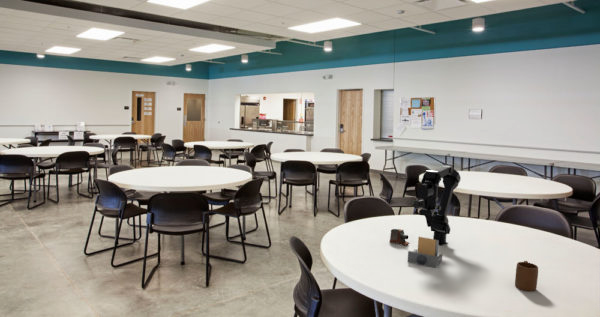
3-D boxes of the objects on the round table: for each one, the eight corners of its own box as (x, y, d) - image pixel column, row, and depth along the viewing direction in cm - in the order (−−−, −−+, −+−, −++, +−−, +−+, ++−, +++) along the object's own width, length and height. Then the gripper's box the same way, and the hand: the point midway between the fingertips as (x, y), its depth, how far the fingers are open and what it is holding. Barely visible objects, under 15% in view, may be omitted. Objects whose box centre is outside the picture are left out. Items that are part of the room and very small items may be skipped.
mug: (513, 278, 171) (515, 257, 170) (533, 282, 168) (536, 260, 167) (515, 289, 160) (517, 266, 159) (537, 293, 157) (539, 270, 156)
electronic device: (405, 247, 208) (405, 232, 208) (389, 242, 215) (389, 228, 214) (409, 245, 211) (410, 231, 211) (393, 240, 218) (394, 227, 218)
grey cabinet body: (414, 255, 196) (415, 245, 196) (441, 260, 190) (442, 250, 189) (406, 262, 186) (407, 251, 186) (435, 268, 180) (436, 257, 179)
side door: (418, 254, 196) (419, 236, 195) (437, 258, 191) (439, 239, 190) (417, 255, 195) (418, 237, 194) (436, 260, 190) (438, 240, 189)
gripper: (420, 190, 214) (418, 219, 216) (409, 196, 198) (407, 227, 200) (442, 193, 208) (440, 223, 210) (432, 199, 193) (430, 231, 194)
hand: (429, 226), depth 204 cm, fingers closed
